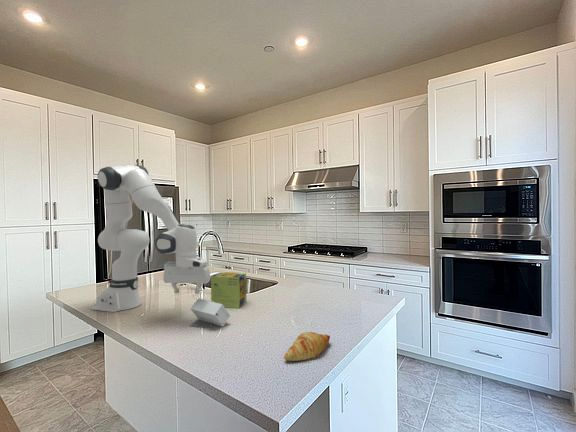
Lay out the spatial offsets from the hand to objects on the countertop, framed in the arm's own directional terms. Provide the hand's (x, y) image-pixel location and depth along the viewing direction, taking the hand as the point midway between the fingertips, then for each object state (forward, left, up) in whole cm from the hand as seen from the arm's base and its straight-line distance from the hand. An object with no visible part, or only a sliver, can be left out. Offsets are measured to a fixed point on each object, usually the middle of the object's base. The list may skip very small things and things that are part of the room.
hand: (186, 293), depth 131 cm
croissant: (+53, -24, -13) cm, 60 cm away
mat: (+8, +1, -12) cm, 15 cm away
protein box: (+12, +24, -13) cm, 29 cm away
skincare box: (+4, +1, -7) cm, 8 cm away
